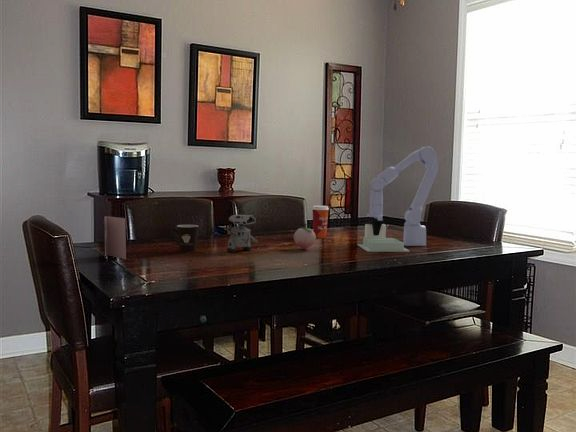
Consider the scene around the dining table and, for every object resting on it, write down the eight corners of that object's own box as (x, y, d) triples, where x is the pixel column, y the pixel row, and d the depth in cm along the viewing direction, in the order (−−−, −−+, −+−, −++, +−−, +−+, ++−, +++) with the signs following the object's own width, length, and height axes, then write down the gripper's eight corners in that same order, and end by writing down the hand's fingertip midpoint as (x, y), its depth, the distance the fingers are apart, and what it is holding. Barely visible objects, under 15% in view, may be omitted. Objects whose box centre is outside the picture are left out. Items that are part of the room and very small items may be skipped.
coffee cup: (322, 239, 258) (322, 207, 257) (307, 237, 263) (308, 206, 262) (331, 237, 265) (332, 206, 264) (317, 235, 270) (318, 205, 268)
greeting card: (102, 256, 205) (102, 216, 203) (123, 255, 208) (122, 215, 206) (104, 261, 194) (103, 219, 193) (126, 260, 197) (125, 218, 195)
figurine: (241, 255, 212) (242, 216, 211) (224, 250, 221) (225, 213, 219) (260, 252, 218) (260, 215, 217) (243, 248, 227) (243, 212, 225)
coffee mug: (202, 250, 222) (203, 225, 221) (190, 253, 214) (190, 227, 213) (179, 247, 227) (179, 223, 226) (166, 250, 219) (166, 225, 218)
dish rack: (397, 245, 244) (397, 237, 244) (409, 251, 228) (410, 243, 227) (357, 245, 242) (357, 237, 242) (367, 251, 226) (367, 243, 225)
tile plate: (384, 241, 249) (384, 224, 249) (385, 242, 247) (386, 224, 246) (364, 241, 248) (365, 224, 248) (365, 242, 246) (366, 224, 245)
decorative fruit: (319, 249, 228) (320, 225, 227) (306, 251, 222) (307, 227, 221) (302, 246, 235) (303, 223, 234) (289, 249, 229) (290, 225, 228)
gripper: (363, 203, 253) (362, 232, 254) (371, 206, 238) (370, 237, 240) (378, 203, 253) (377, 232, 255) (387, 206, 239) (386, 237, 241)
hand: (375, 234), depth 247 cm, fingers closed on tile plate, 2 cm apart
